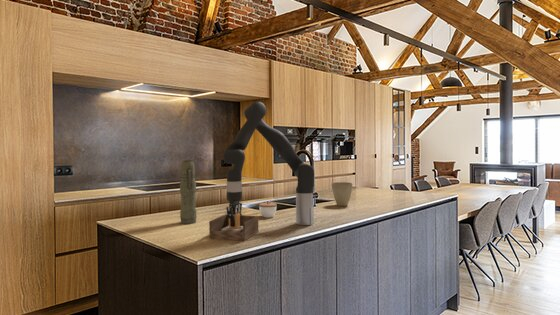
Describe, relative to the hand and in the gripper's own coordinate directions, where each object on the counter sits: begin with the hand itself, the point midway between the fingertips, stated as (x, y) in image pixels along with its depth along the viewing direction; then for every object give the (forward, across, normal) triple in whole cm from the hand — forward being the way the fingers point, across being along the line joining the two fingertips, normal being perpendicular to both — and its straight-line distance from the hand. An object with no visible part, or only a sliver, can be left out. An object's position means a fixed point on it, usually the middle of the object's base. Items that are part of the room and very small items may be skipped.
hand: (234, 225), depth 184 cm
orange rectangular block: (+2, 0, 0) cm, 2 cm away
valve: (+5, +25, +12) cm, 28 cm away
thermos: (+5, +20, +37) cm, 42 cm away
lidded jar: (+5, +48, -1) cm, 48 cm away
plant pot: (+5, +102, -39) cm, 109 cm away
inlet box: (+5, 0, 0) cm, 5 cm away
